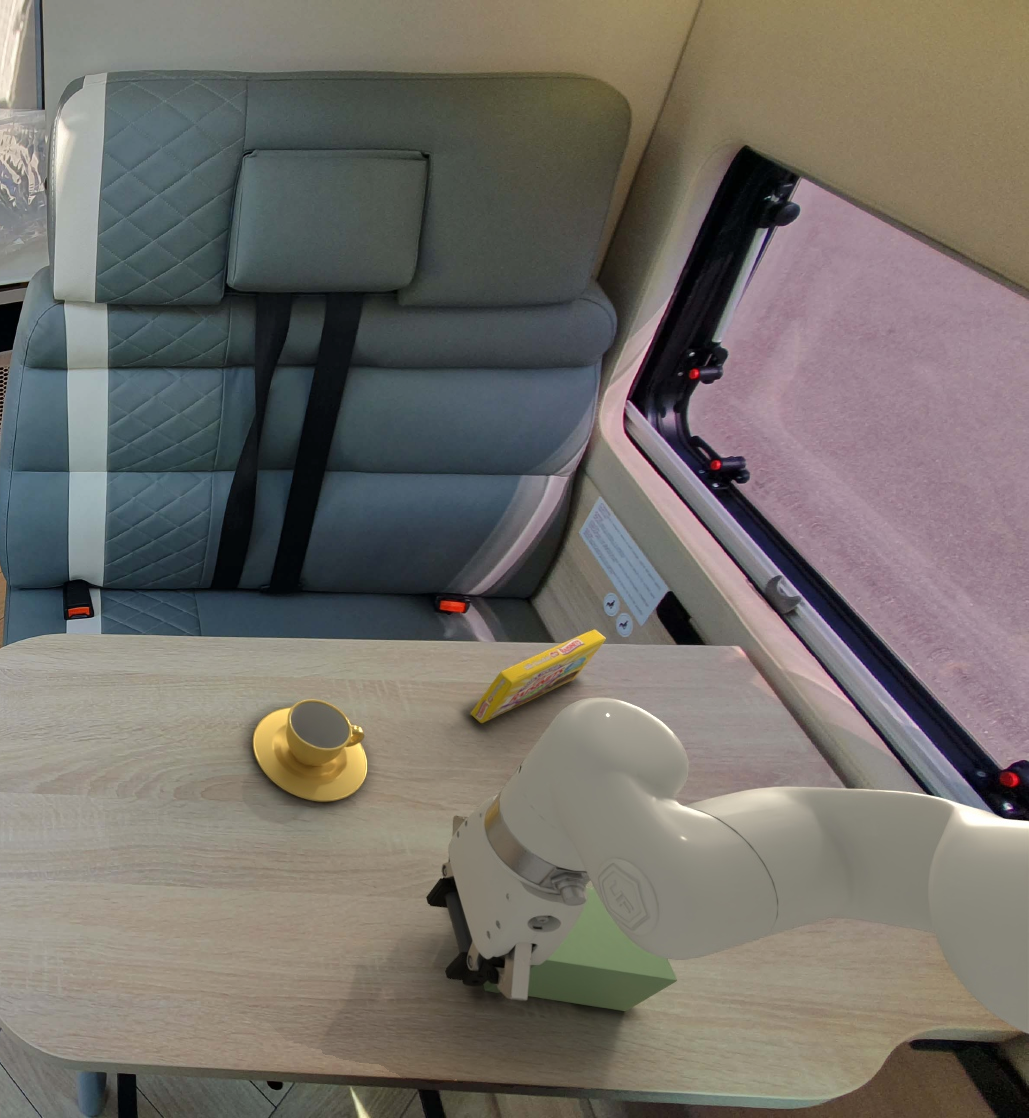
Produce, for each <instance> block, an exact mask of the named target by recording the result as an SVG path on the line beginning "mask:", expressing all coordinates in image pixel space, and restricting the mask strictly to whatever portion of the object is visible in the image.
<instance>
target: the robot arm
mask: <svg viewBox="0 0 1029 1118" xmlns="http://www.w3.org/2000/svg"><path fill="white" fill-rule="evenodd" d="M689 773H690V762H689V758H688V755H687V752H686V749H685V747H684V745H683V744H682V742H681V741H680V738H679V737H677V735H676V734H675V733H674V731H672V729H671V728H669V727H668V725H666V724H665V723H664V722H663V721H661V720H660V719H659V718H658V717H656V716H655V715H652V714H651V713H650V712H649V711H647V710H645V709H643V708H640V707H639V706H637V705H634V704H631V703H630V702H626V701H623V700H620V699H615V698H610V697H588V698H582V699H579V700H577V701H575V702H572V703H570V704H568V705H567V706H565V707H563V708H562V710H561V711H560V712H559V713H558V714H557V715H556V716H555V718H553V720H552V722H551V723H550V724H549V725H548V726H547V728H546V729H545V731H544V732H543V733H542V735H541V736H540V738H539V739H538V740H537V741H536V743H534V746H533V747H532V748H531V749H530V750H529V752H528V754H527V755H526V756H525V758H524V759H523V760H522V762H521V763H520V765H519V766H518V767H517V768H516V770H515V771H514V773H513V774H512V775H511V777H510V778H509V780H508V781H507V782H506V783H505V784H504V786H503V787H502V789H501V790H500V792H499V793H497V794H496V795H493V796H491V797H489V798H488V799H487V800H485V801H484V802H483V803H481V804H480V805H479V806H478V807H477V808H475V809H474V810H473V811H472V812H471V813H470V814H469V815H468V816H464V815H453V817H452V835H451V836H452V838H451V839H450V840H449V841H450V842H449V844H448V847H447V850H448V852H447V853H448V862H444V863H442V865H441V875H442V877H440V878H439V879H438V880H437V881H436V882H435V883H436V884H435V885H434V886H433V888H432V889H431V890H430V892H429V893H428V894H427V895H426V897H425V898H426V902H427V904H428V905H429V907H436V908H444V909H448V907H447V904H446V900H445V894H447V893H449V892H458V893H459V896H460V900H461V903H462V907H463V910H464V914H465V917H466V920H467V924H468V927H469V930H470V934H471V937H472V940H473V941H472V944H471V947H470V949H469V952H461V953H460V952H459V954H458V955H457V956H456V957H455V958H454V959H453V960H452V961H451V962H450V964H449V965H448V966H447V967H446V968H445V970H444V971H445V972H444V973H445V976H446V978H447V979H448V980H454V981H462V984H463V985H465V986H467V987H480V986H484V985H483V984H484V983H485V982H486V981H487V980H488V981H489V982H490V983H491V984H496V985H497V986H498V989H499V990H500V991H501V992H500V993H501V994H502V995H503V996H504V997H505V998H506V999H508V1000H511V1001H512V1000H513V1001H521V1002H526V1001H528V998H529V996H528V987H529V976H530V965H540V964H542V963H543V962H544V961H546V960H547V959H548V958H549V957H550V956H551V955H552V954H553V953H554V952H555V950H556V949H557V948H558V947H559V946H560V945H561V943H562V942H563V941H564V940H565V938H566V937H567V936H568V934H569V933H570V931H571V930H572V929H573V927H574V925H575V924H576V922H577V921H578V919H579V917H580V915H581V913H582V911H583V909H584V906H585V904H586V901H587V898H588V894H587V889H586V887H587V884H589V883H590V882H591V884H592V887H593V888H595V890H596V892H597V894H598V896H599V898H600V900H601V902H602V903H603V905H604V907H605V908H606V910H607V912H608V914H609V915H610V916H611V918H612V919H613V921H614V922H615V923H616V925H617V926H618V927H619V929H620V930H621V931H622V932H623V933H624V934H625V935H626V936H627V937H628V938H629V939H630V940H631V941H632V942H633V943H635V944H636V945H637V946H639V947H640V948H642V949H643V950H645V951H647V952H648V953H651V954H653V955H656V956H658V957H661V958H665V959H668V960H672V961H687V960H688V961H689V960H695V959H700V958H703V957H708V956H710V955H714V954H717V953H720V952H724V951H727V950H729V949H733V948H736V947H739V946H744V945H747V944H749V943H752V942H755V941H760V940H761V939H764V938H767V937H771V936H775V935H778V934H781V933H784V932H788V931H790V930H794V929H797V928H800V927H805V926H808V925H812V924H815V923H819V922H823V921H826V920H830V919H842V920H843V919H845V920H855V921H862V922H870V923H876V924H883V925H889V926H894V927H899V928H906V929H911V930H916V931H920V932H922V931H923V932H927V933H932V934H934V935H935V938H936V941H937V943H938V946H939V949H940V950H941V953H942V955H943V957H944V959H945V961H946V963H947V964H948V967H949V968H950V970H951V971H952V973H953V974H954V976H955V977H956V979H957V980H958V981H959V982H960V984H961V985H962V986H963V988H964V989H965V990H966V991H967V992H968V993H969V994H970V995H971V996H972V997H973V999H975V1000H976V1001H977V1002H978V1003H979V1004H980V1005H981V1006H982V1007H983V1008H984V1009H985V1010H987V1011H988V1012H989V1013H990V1014H992V1015H993V1016H995V1017H996V1018H998V1019H999V1020H1001V1021H1002V1022H1004V1023H1006V1024H1007V1025H1010V1026H1011V1027H1013V1028H1015V1029H1017V1030H1019V1031H1021V1032H1023V1033H1025V1034H1028V1035H1029V820H1018V819H1009V818H1003V817H1002V816H999V815H997V814H995V813H993V812H989V811H987V810H984V809H980V808H976V807H973V806H970V805H966V804H963V803H959V802H956V801H953V800H950V799H947V798H943V797H939V796H935V795H929V794H923V793H916V792H909V791H908V792H907V791H899V790H885V789H884V790H881V789H867V788H841V787H838V788H837V787H816V786H815V787H814V786H771V787H769V786H768V787H761V788H760V787H759V788H752V789H751V788H750V789H746V790H741V791H737V792H731V793H728V794H722V795H719V796H714V797H711V798H706V799H703V800H699V801H694V802H692V803H687V804H683V805H682V804H680V803H679V802H678V800H677V798H676V797H677V796H678V795H679V794H680V793H681V792H682V790H683V789H684V788H685V785H686V783H687V781H688V778H689Z"/></svg>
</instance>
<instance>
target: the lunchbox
mask: <svg viewBox="0 0 1029 1118" xmlns="http://www.w3.org/2000/svg"><path fill="white" fill-rule="evenodd" d="M586 889H587V894H588V898H587V901H586V904H585V906H584V909H583V911H582V913H581V915H580V917H579V919H578V921H577V922H576V924H575V925H574V927H573V929H572V930H571V931H570V933H569V934H568V936H567V937H566V938H565V940H564V941H563V942H562V943H561V945H560V946H559V947H558V948H557V949H556V950H555V952H554V953H553V954H552V955H551V956H550V957H549V958H548V959H547V960H546V961H544V962H543V963H542V964H540V965H530V976H529V987H528V997H533V998H539V999H543V1000H544V999H546V1000H551V1001H552V1000H553V1001H558V1002H564V1003H572V1004H577V1005H583V1006H590V1007H596V1008H602V1009H609V1010H615V1011H621V1012H627V1011H629V1010H631V1009H632V1008H634V1007H635V1006H637V1005H640V1003H643V1002H644V1001H646V1000H648V999H649V998H651V997H653V996H654V995H656V994H657V993H659V992H661V991H662V990H665V989H666V988H668V987H669V986H671V985H673V984H674V983H676V982H678V978H677V977H676V974H675V972H674V970H673V967H672V965H671V963H670V961H669V959H665V958H661V957H658V956H656V955H653V954H651V953H648V952H647V951H645V950H643V949H642V948H640V947H639V946H637V945H636V944H635V943H633V942H632V941H631V940H630V939H629V938H628V937H627V936H626V935H625V934H624V933H623V932H622V931H621V930H620V929H619V927H618V926H617V925H616V923H615V922H614V921H613V919H612V918H611V916H610V915H609V914H608V912H607V910H606V908H605V907H604V905H603V903H602V902H601V900H600V898H599V896H598V894H597V892H596V890H595V888H594V887H587V886H586ZM445 900H446V904H447V907H448V908H447V912H448V915H449V918H450V922H451V926H452V929H453V934H454V937H455V940H456V944H457V948H458V952H459V954H460V953H461V952H469V949H470V947H471V944H472V941H473V940H472V937H471V934H470V930H469V927H468V924H467V920H466V917H465V914H464V910H463V907H462V903H461V900H460V896H459V893H458V892H449V893H447V894H445ZM482 986H483V988H484V991H485V992H489V993H496V994H499V993H502V992H501V991H500V990H499V989H498V986H497V985H496V984H491V983H490V982H489V981H488V980H487V981H486V982H485V983H484V984H483V985H482Z"/></svg>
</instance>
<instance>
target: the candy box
mask: <svg viewBox="0 0 1029 1118" xmlns="http://www.w3.org/2000/svg"><path fill="white" fill-rule="evenodd" d="M605 641H607V637H606V636H604V635H602V634H601V632H599V631H598V630H597V629H595V628H594V629H593V630H589V631H587V632H585V633H583V634H579V635H578V636H575V637H573V638H571V639H569V640H567V641H565V642H562V643H560V644H558V645H556V646H553V647H551V648H549V649H547V650H545V651H542V652H540V653H539V654H536V655H534V656H531V657H529V658H528V659H525V660H523V661H520V662H518V663H516V664H514V665H512V666H510V667H508V668H505V669H503V670H501V671H500V672H499V673H498V675H497V676H496V677H495V679H494V680H493V682H492V683H491V684H490V686H489V687H488V689H486V691H485V692H484V693H483V695H482V697H481V698H480V700H479V701H478V702H477V704H476V705H475V707H473V709H472V711H471V712H470V715H471V716H472V717H473V718H474V719H475V720H476V721H477V722H478V723H480V724H484V723H486V722H489V721H490V720H492V719H494V718H496V717H498V716H501V715H502V714H505V713H507V712H509V711H511V710H513V709H515V708H517V707H520V706H521V705H524V704H526V703H528V702H530V701H532V700H535V699H537V698H539V697H541V696H542V695H544V694H547V693H548V692H550V691H552V690H554V689H556V688H559V687H561V686H562V685H565V684H568V683H569V682H572V681H574V680H576V678H577V676H578V675H579V674H580V673H581V672H582V670H583V669H584V668H585V666H586V665H587V664H588V663H589V661H590V660H591V659H592V658H593V657H594V655H595V654H596V653H597V652H598V651H599V649H600V648H601V647H602V645H603V644H604V642H605Z"/></svg>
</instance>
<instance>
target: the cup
mask: <svg viewBox="0 0 1029 1118" xmlns="http://www.w3.org/2000/svg"><path fill="white" fill-rule="evenodd" d="M364 738H365V733H364V729H363V727H361V726H360V725H357V724H355V725H353V724H351V722H350V720H349V718H348V717H347V716H346V714H345V713H344V711H341V709H339V708H338V707H337V706H335V705H333V704H331V703H329V702H327V701H324V700H320V699H313V698H311V699H304V700H300V701H298V702H296V703H294V704H293V705H292V706H287V707H282V708H278V709H276V710H273V711H271V712H269V713H268V714H265V716H264V717H262V718H261V720H260V721H259V722H258V723H257V724H256V727H255V729H254V732H253V736H252V749H253V753H254V757H255V759H256V761H257V763H258V765H259V767H260V768H261V770H262V771H263V773H264V774H265V775H266V776H267V777H268V779H270V781H272V782H273V783H274V784H276V785H277V786H278V787H279V788H281V789H282V790H283V791H285V792H287V793H289V794H292V795H293V796H296V797H299V798H301V799H305V800H308V801H313V802H324V803H325V802H335V801H339V800H343V799H346V798H348V797H350V796H351V795H353V794H354V793H356V792H357V791H358V790H359V789H360V788H361V786H362V785H363V783H364V781H365V779H366V776H367V771H368V761H367V756H366V752H365V750H364V747H363V745H362V744H361V742H362V741H363V740H364Z"/></svg>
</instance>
